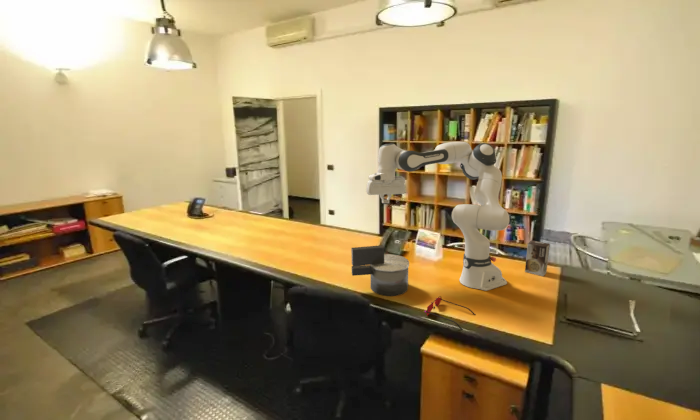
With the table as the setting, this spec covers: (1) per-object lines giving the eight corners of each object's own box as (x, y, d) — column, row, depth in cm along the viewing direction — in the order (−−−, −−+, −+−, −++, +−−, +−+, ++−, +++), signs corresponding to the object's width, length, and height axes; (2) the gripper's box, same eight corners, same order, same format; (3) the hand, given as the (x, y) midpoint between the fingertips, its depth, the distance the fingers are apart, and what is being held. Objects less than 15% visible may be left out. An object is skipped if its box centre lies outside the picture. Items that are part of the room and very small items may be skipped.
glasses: (438, 303, 153) (439, 293, 151) (476, 316, 142) (477, 305, 141) (424, 317, 142) (424, 306, 141) (463, 331, 132) (463, 320, 131)
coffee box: (546, 272, 180) (550, 243, 176) (543, 276, 175) (547, 246, 171) (528, 268, 186) (531, 239, 182) (524, 271, 181) (527, 242, 177)
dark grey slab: (401, 255, 175) (402, 238, 173) (414, 270, 157) (415, 251, 155) (348, 259, 170) (348, 242, 168) (356, 275, 152) (355, 256, 150)
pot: (402, 277, 177) (402, 256, 174) (412, 294, 160) (413, 270, 157) (350, 281, 174) (349, 259, 171) (354, 298, 157) (354, 274, 154)
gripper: (402, 175, 181) (401, 201, 183) (365, 175, 175) (365, 202, 178) (407, 176, 175) (406, 203, 177) (369, 177, 169) (369, 204, 172)
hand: (385, 203), depth 177 cm, fingers closed
